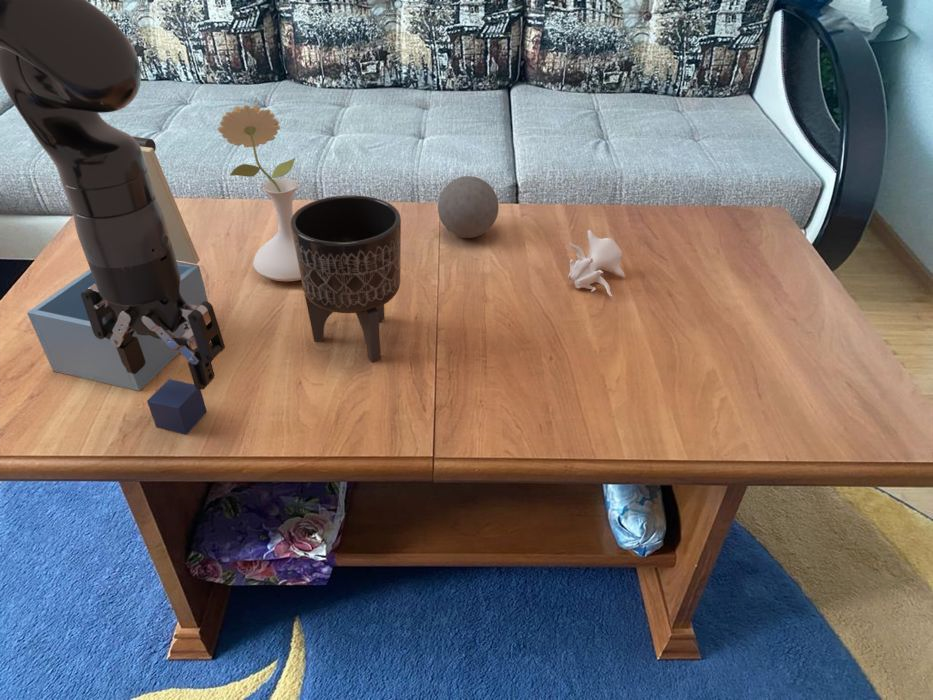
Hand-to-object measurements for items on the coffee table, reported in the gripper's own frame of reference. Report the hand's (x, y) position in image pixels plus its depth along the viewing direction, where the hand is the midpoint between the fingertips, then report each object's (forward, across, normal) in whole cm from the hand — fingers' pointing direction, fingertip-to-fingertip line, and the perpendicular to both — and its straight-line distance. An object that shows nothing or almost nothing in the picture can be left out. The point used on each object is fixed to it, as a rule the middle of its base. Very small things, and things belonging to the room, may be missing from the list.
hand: (170, 376), depth 75 cm
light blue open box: (+6, -14, +10) cm, 19 cm away
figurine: (+7, +40, +45) cm, 61 cm away
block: (+6, 0, 0) cm, 6 cm away
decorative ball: (+7, +18, +54) cm, 57 cm away
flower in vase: (+7, -5, +34) cm, 35 cm away
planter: (+7, +12, +21) cm, 25 cm away
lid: (-11, -14, +16) cm, 24 cm away
